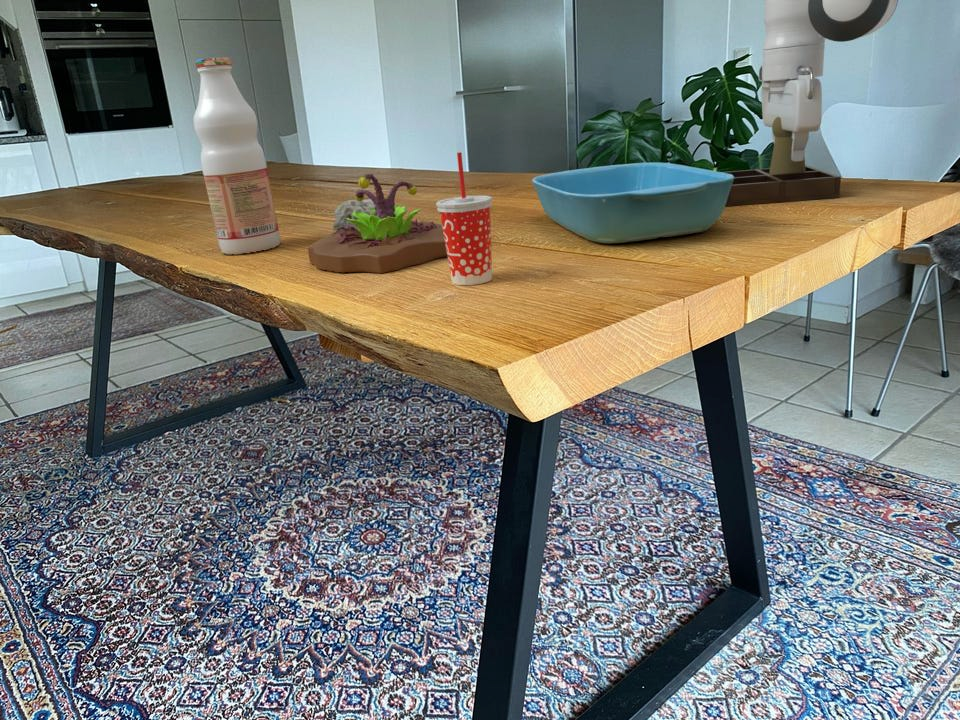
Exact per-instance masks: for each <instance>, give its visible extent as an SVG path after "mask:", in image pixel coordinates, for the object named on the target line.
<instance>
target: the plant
mask: <svg viewBox="0 0 960 720" xmlns="http://www.w3.org/2000/svg"><path fill="white" fill-rule="evenodd" d="M370 181H372V183H373V187H374V188H373V189H374V191H375V193H372V192H371V191H369V190H366V189H367V188H369V186H370V183H371V182H370ZM357 184H358V186H359V188H360V189H358V190H357V191H356V192H355V193H354V198H355V199H354V200H357V201H360V202H361V201H363V200H365V196H367V197H368V199H371V200H372V201H373V203H374V204H375V208H372V209H371V216H370V215H368V214H366V213H363V212H357V211H355V212H354V214H353V215H354V217H356V218H357V219H358V220H359V221H358V220H353V219H349V218H347V220H348V221H350V222H351V223H353V224H355V225H356V226H357V228H358V229H355V228H354V227H353V226H350V227H348V228H347V229H346V228H344V227H339V228H338V230H337V232H334V233H333V234H332V233H331V234H330V235H327V236H325V237H322V238H320V239H319V240H317V241H316V242H314V243H312V244H310V245H308V246H307V251H308V252H307V253H308V259H309V263H310V264H311V265H314V266H315V267H316V269H318V270H321V271H325V270H327V271H326V272H333V271H334V272H333V273H339V272H341V274H343V273H344V274H345V272H348V273H358V272H359V273H372V274H373V273H375V274H385V273H388V272H395V271H399V270H402V269H404V268H408V267H413V266H417V265H421V264H424V263H428V262H431V261H434V260H436V259H441V258H448V256H447V251H446V245H445V239H444V233H443V228H442V224H438V223H435V222H434V221H419V222H418V219H417V218H415V220H413V218H414V217H415V216H416V215H418V213H419V212H420V210H421V208H420V207H419V208H417V209H414V210H412V211H410V213H408V215H407V216H406V218H405V219H404V216H405V215H406V214H407V212H408V211H407V210H406V206H405V205H402V206H400V205H395V204H396V203H395V201H396V200H395V199H396V194H397V192H398V189H400V187H403V186H405V187H406V190H407V193H408V194H409V195H411V196H415V195H416V194H417V192H418V189H417V187H416V186H415V185H414V184H413V183H411V182H407V181H404V180H401V181H400V182H399V181H398V182H397V183H395V184H394V185H393V186H392V187H391V189H390V190H389V191H388V195H387V197H386V198H385V195H384V192H383V187H382V185H381V184H380V181H379V180H378V178H377V177H376V176H374V174H373V173H370V174H369V173H367V174H365V173H364V175H362V176H361V177H359V179H358V183H357ZM349 228H351V229H349ZM340 229H344V230H341V231H340V232H339V233H338V231H339V230H340Z"/></svg>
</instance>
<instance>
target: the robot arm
mask: <svg viewBox="0 0 960 720" xmlns="http://www.w3.org/2000/svg"><path fill="white" fill-rule="evenodd" d="M898 3H899V0H765V1H764V12H763V13H764V15H763V16H764V17H763V18H764V19H763V21H764V25H765V31H766V35H765V40H764V44H763V48H762V63H761V65H760V67H759V69H758V81H759V82H760V83H762V84H761V112H762V113H761V115H762V121H763V124H764V126H765V127H768V128H772V124H773V121H774V120H775V118H777V117H780V118H781V126H782V129H783V130H786V131H791V132H792V139H793V142H792V149H791V150H790V160H791V161H794V162H797V161H803V160H804V156H805V153H806V152H805V151H806V147H807V144H808V141H809V137H810V136H809V135H810V133H812V132H813V133H814V132H818V131H819V130H820V127H821V124H822V110H823V92H822V91H823V90H822V82H821V79H820V77H822V76H824V60H825V47H826V45H825V44H826V43H825V42H826V40H829V41H832V42H838V43H841V42H843V43H844V42H850V41H854V40H857V39H859V38H862V37H867V36H869V35H871V34H873V33H875V32H877V31H879V30H880V29H881V28H882V27H884V25H886V24H887V23H888V22H889V21H890V19H891V18H892V17H893V15H894V13H895V11H896V9H897V6H898ZM818 77H819V78H818ZM771 136H772V141H773V144H774V143H775V135H774V134H773V131H772V130H771Z"/></svg>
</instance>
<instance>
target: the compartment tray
mask: <svg viewBox="0 0 960 720" xmlns="http://www.w3.org/2000/svg"><path fill="white" fill-rule="evenodd" d="M805 169H806V172H796V173H783V174H771V175H770V174H769V171H770V167H769V168H756V169H744V170H733V171H732V170H730V171H721V172H722V173H728V174H731V175H733V176H734V180H733V183H732V186H731V189H730V192H729V195H728V198H727V202H726V204H725V207H739V206H750V205H763V204H777V203H790V202H791V203H792V202H803V201H804V202H805V201H816V200H828V199H839V198H840V194H841V181H842V176H840V175H837V174H834V173H831V172H828V171H825V170H822V169H820V168H816V167H813V166H811V165H807V164H805Z"/></svg>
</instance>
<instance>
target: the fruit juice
mask: <svg viewBox="0 0 960 720" xmlns="http://www.w3.org/2000/svg"><path fill="white" fill-rule="evenodd" d="M195 67H196V70H197V73H199V75H200V76H199V77H200V85H199V94H198V101H197V102H198V103H197V106H196V109H195V112H194V114H193V119H192V123H193V130H194V132H195V134H196V136H197V138H198V140H199V142H200V146H201V151H200V164H201V171H202V176H203V179H204V184H205V187H206V192H207V193H206V194H207V197H208V198H207V199H208V202H209V206H210V211H211V215H212V220H213V224H214V228H215V234H216V239H217V242H218V247H219V250H220V251H221V253H222V254H224V253H225V254H224V255H232V254H233V255H243V254H242V253H247V254H251V253H250V252H254V253H257V252H256V251H260V252H262V251H261V250H264V251H266V250H265V249H268V250H270V249H269V248H272V249H274V248H277V247H278V246H280V245H281V234H280V228H279V224H278V218H277V213H276V209H275V202H274V196H273V193H272V187H271V182H270V177H269V171H268V165H267V161H266V156H265V153H264V150H263V148H262V147H261V145H260V143H259V141H258V119H257V116H256V113H255V111H254V109H253V108H252V107H251V106H250V105H249V104H248V102H247V101H246V100H245V97H243V94H242V93H241V91H240V89H239V88H238V86H237V83H236V82H235V80H234V78H233V75H232V70H233V68H232V62H231V59H230V58H229V57H211V58H210V57H209V58H201V59H197V60H195ZM276 246H277V247H276ZM273 247H274V248H273Z"/></svg>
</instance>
